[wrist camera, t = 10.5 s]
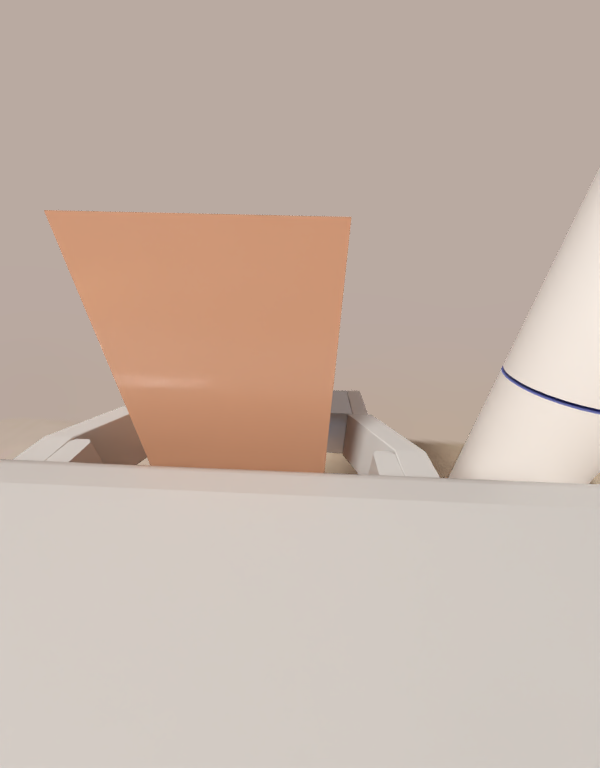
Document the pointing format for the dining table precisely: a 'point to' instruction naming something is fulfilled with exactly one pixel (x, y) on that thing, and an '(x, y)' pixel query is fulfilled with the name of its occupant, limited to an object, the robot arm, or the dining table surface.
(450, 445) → the dining table surface
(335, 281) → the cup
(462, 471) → the cylindrical container
